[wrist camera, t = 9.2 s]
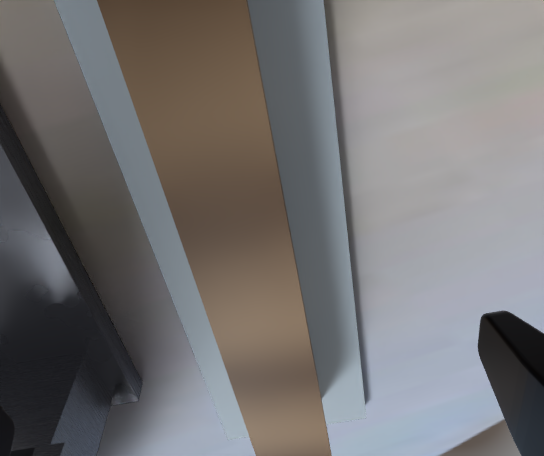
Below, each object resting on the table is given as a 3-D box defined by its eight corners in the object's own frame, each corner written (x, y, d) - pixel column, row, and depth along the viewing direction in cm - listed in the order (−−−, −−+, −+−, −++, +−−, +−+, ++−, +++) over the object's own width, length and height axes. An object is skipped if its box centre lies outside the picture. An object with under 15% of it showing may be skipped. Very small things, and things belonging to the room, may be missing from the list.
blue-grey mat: (363, 407, 23) (366, 418, 22) (228, 429, 23) (227, 440, 23) (278, -402, 9) (280, -422, 8) (-61, -319, 9) (-78, -334, 9)
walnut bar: (321, 399, 21) (332, 460, 19) (259, 409, 22) (261, 471, 19) (173, -399, 8) (143, -543, 6) (19, -360, 9) (-73, -485, 6)
